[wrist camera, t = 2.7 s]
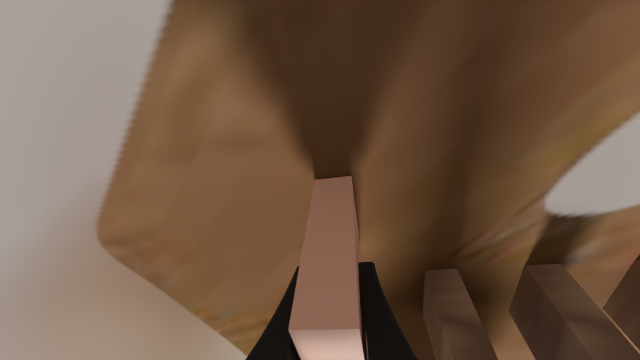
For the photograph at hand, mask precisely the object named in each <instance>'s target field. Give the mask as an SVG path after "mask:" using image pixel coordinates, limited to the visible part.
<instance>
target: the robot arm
mask: <svg viewBox="0 0 640 360" xmlns="http://www.w3.org/2000/svg"><path fill="white" fill-rule="evenodd" d="M358 271H359V291H360V298H361V304H362V311H363V318H364V325H365V331H366V338H367V347H368V360H417V358H416V356H415V355H414V353H413V351H412V350H411V348H410V346H409V344H408V342H407V341H406V339H405V337H404V335H403V333H402V331H401V329H400V327H399V326H398V324H397V322H396V320H395V318H394V315H393V313H392V311H391V309H390V307H389V305H388V302H387V300H386V298H385V296H384V293H383V291H382V288H381V285H380V283H379V280H378V277H377V273H376V269H375V264H374V263H373V262H360V263H358ZM298 272H299V266H298V267H297V269H296V271H295V273H294V275H293V278H292V280H291V282H290V284H289V286H288V288H287V290H286V292H285V294H284V296H283V298H282V300H281V302H280V304H279V306H278V308H277V310H276V312H275V313H274V315H273V317H272V319H271V320H270V322H269V324H268V325H267V327H266V329H265V330H264V332H263V334H262V335H261V337H260V339H259V340H258V342H257V343H256V345H255V346H254V348H253V349H252V351H251V352H250V354H249V355H248V357H247V358H246V360H301V359H300V356H299V354H298V352H297V349H296V347H295V345H294V342H293V340H292V338H291V335H290V333H289V331H288V329H289V323H290V317H291V312H292V306H293V300H294V294H295V289H296V283H297V277H298Z"/></svg>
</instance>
